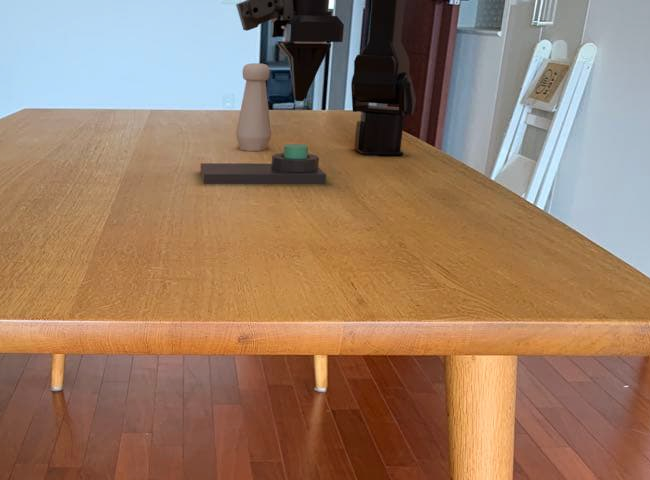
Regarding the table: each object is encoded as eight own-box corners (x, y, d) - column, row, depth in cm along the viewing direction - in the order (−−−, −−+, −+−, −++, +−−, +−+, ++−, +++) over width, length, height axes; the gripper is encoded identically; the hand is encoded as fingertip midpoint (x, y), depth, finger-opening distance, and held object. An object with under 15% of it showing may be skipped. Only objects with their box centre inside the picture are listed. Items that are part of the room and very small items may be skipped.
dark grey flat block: (313, 173, 113) (315, 151, 112) (325, 184, 106) (327, 161, 105) (200, 173, 113) (200, 151, 111) (204, 184, 106) (204, 161, 104)
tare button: (304, 157, 110) (305, 143, 109) (309, 161, 107) (310, 147, 106) (281, 157, 110) (282, 143, 109) (285, 161, 107) (286, 147, 106)
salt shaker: (271, 152, 130) (276, 64, 125) (236, 151, 130) (238, 64, 125) (269, 146, 136) (273, 62, 130) (234, 146, 136) (237, 62, 130)
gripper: (234, -33, 106) (230, 93, 113) (251, -41, 90) (245, 108, 97) (318, -32, 107) (309, 94, 114) (350, -39, 90) (337, 109, 97)
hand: (299, 100), depth 105 cm, fingers closed
